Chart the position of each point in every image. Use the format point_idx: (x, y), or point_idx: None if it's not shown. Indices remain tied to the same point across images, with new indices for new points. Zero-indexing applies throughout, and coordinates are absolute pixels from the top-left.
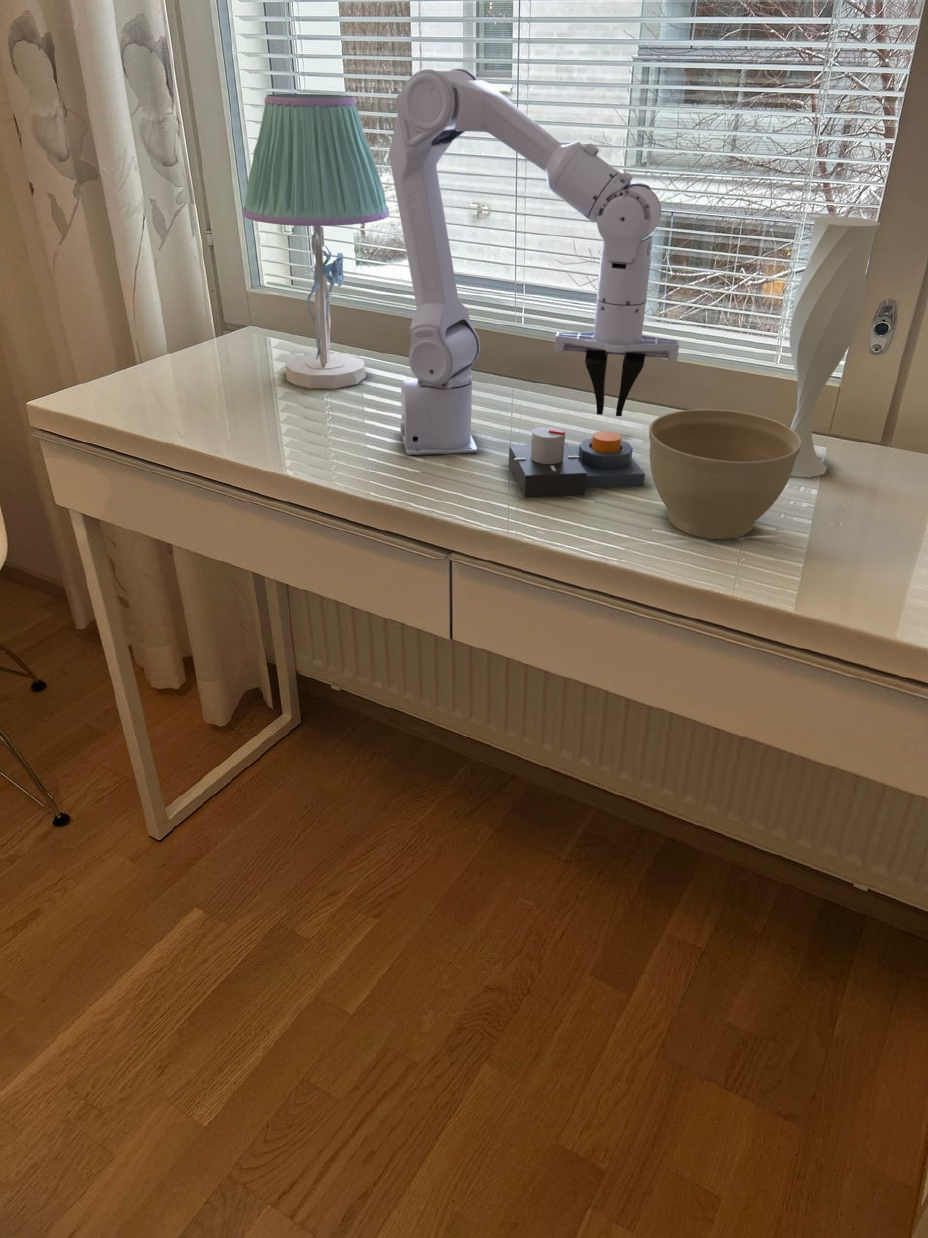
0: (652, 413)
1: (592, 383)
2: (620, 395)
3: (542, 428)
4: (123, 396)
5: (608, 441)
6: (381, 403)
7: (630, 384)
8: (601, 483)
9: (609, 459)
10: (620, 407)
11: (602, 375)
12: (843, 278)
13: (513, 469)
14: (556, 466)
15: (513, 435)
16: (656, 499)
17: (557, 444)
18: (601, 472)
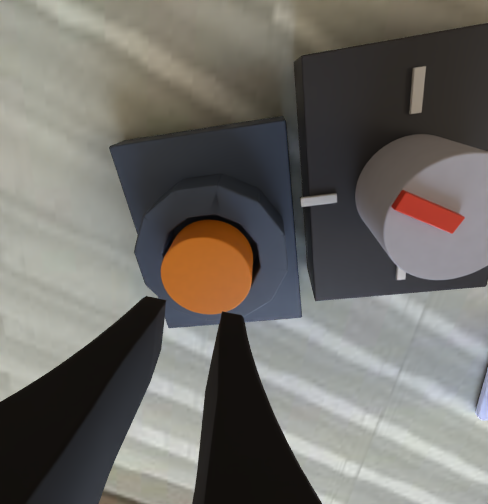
0: (111, 468)
1: (286, 440)
2: (117, 355)
3: (465, 258)
4: None
5: (205, 235)
6: None
7: (13, 401)
8: (237, 124)
9: (207, 183)
10: (136, 314)
11: (219, 494)
12: None
13: None
14: (396, 119)
15: (381, 402)
16: (86, 46)
17: (422, 154)
18: (235, 153)
